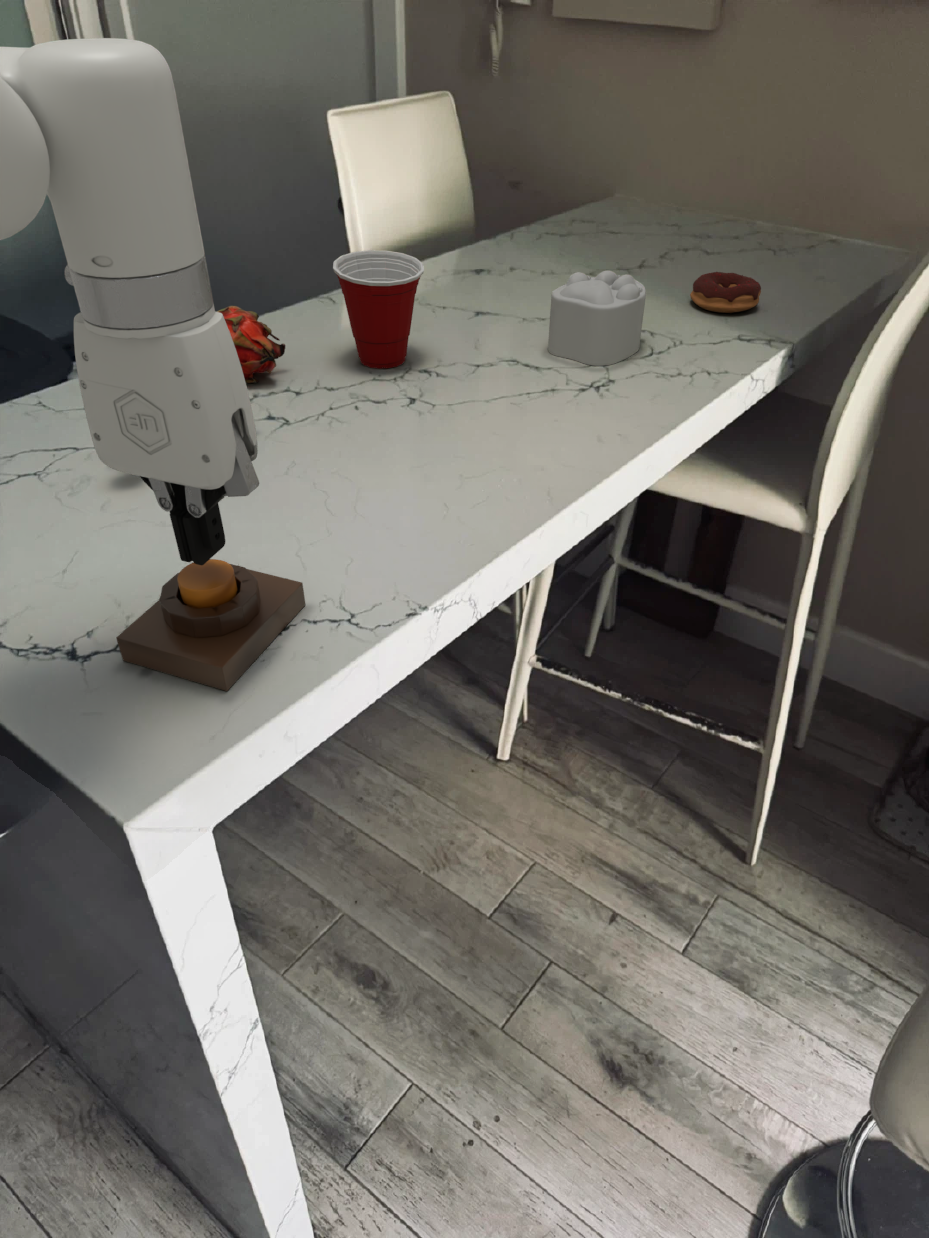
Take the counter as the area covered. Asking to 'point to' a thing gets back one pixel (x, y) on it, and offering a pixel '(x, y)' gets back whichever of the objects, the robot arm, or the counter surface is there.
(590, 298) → the lumpy-topped squat cylinder
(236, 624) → the control block
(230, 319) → the dragon fruit
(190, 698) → the counter surface
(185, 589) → the warm button
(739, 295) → the donut
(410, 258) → the plastic cup
